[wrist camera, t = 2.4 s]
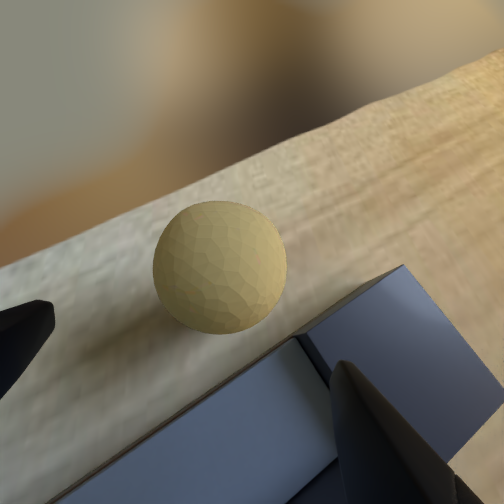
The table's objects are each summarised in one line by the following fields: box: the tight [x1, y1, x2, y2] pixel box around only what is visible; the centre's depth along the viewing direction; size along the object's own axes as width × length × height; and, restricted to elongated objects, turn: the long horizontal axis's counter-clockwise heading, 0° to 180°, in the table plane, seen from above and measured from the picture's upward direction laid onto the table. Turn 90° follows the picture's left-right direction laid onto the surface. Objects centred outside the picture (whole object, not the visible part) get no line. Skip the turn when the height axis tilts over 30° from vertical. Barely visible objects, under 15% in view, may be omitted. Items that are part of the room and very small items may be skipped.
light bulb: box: [153, 201, 287, 334], centre depth 15 cm, size 6×6×10 cm
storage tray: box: [45, 264, 504, 504], centre depth 14 cm, size 30×9×6 cm, turn 122°
